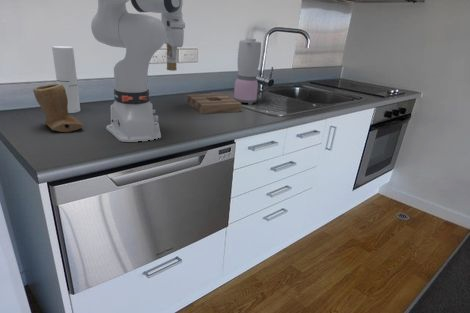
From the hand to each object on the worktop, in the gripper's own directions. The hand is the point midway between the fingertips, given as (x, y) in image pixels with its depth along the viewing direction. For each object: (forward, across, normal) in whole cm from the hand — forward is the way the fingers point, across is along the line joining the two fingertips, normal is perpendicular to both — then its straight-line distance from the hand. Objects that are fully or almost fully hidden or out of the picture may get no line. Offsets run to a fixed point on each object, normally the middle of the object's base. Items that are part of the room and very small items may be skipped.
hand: (171, 55), depth 141 cm
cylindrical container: (+23, +1, -43) cm, 49 cm away
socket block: (+23, +6, +19) cm, 30 cm away
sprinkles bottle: (+6, 0, 0) cm, 6 cm away
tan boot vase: (+23, +22, -47) cm, 57 cm away
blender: (+23, -2, +41) cm, 47 cm away
